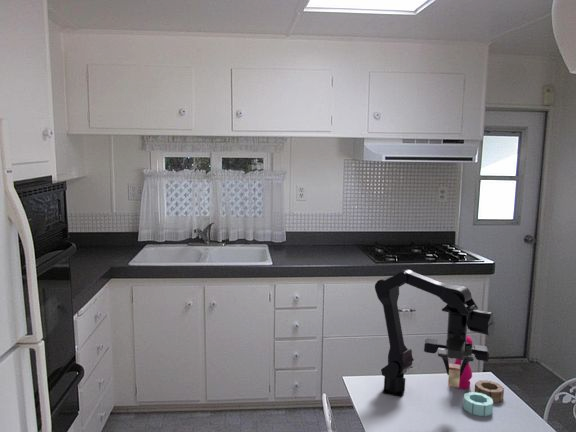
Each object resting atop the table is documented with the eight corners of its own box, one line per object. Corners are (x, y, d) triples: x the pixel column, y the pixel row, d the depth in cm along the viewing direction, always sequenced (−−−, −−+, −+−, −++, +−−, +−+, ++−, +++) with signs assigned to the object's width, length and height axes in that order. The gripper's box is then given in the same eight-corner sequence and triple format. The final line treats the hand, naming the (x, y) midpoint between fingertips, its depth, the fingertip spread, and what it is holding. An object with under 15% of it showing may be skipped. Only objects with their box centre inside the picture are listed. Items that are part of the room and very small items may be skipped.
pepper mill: (473, 390, 165) (476, 335, 163) (451, 388, 167) (455, 333, 165) (469, 381, 172) (473, 328, 170) (448, 379, 174) (452, 326, 172)
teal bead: (463, 412, 150) (464, 402, 150) (463, 400, 158) (463, 390, 158) (493, 418, 147) (493, 407, 147) (491, 405, 156) (491, 395, 155)
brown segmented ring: (482, 402, 157) (483, 392, 157) (470, 389, 166) (471, 380, 166) (507, 402, 158) (508, 392, 157) (494, 389, 166) (495, 380, 166)
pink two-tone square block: (448, 385, 148) (449, 367, 147) (448, 381, 151) (449, 363, 150) (459, 387, 147) (460, 368, 146) (458, 383, 150) (460, 364, 149)
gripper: (424, 331, 142) (421, 381, 144) (491, 340, 136) (487, 392, 138) (426, 320, 153) (423, 366, 154) (489, 328, 147) (485, 376, 148)
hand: (454, 375), depth 148 cm, fingers closed on pink two-tone square block, 3 cm apart
